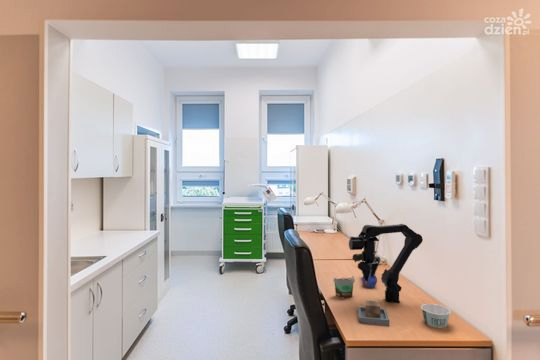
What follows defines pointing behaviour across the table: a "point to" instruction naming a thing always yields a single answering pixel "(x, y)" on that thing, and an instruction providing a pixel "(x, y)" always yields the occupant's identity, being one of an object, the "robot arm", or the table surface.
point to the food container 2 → (435, 315)
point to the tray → (369, 320)
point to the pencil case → (370, 281)
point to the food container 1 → (344, 287)
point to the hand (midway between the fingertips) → (369, 278)
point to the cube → (373, 309)
